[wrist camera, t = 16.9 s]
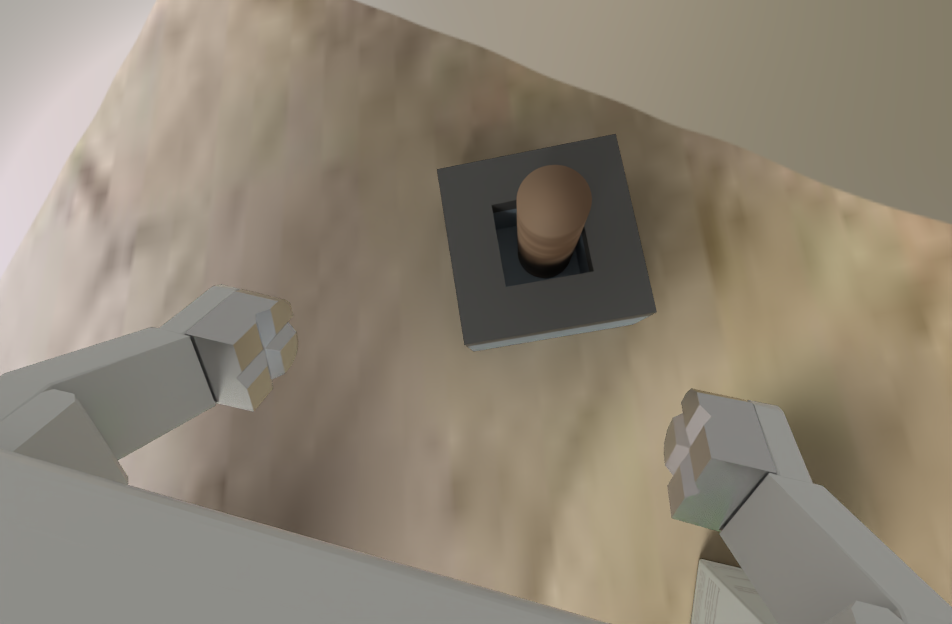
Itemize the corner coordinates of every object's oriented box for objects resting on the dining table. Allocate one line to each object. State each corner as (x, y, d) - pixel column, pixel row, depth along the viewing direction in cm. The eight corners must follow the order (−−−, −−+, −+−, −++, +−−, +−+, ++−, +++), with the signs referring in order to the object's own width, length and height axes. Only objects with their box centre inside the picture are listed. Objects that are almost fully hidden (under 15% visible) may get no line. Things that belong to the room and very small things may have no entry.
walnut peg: (522, 282, 34) (523, 241, 25) (513, 231, 35) (510, 172, 25) (576, 272, 34) (598, 228, 24) (565, 222, 35) (584, 158, 25)
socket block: (474, 351, 35) (464, 344, 29) (450, 203, 37) (436, 169, 31) (633, 324, 34) (656, 312, 28) (600, 174, 36) (615, 133, 30)
